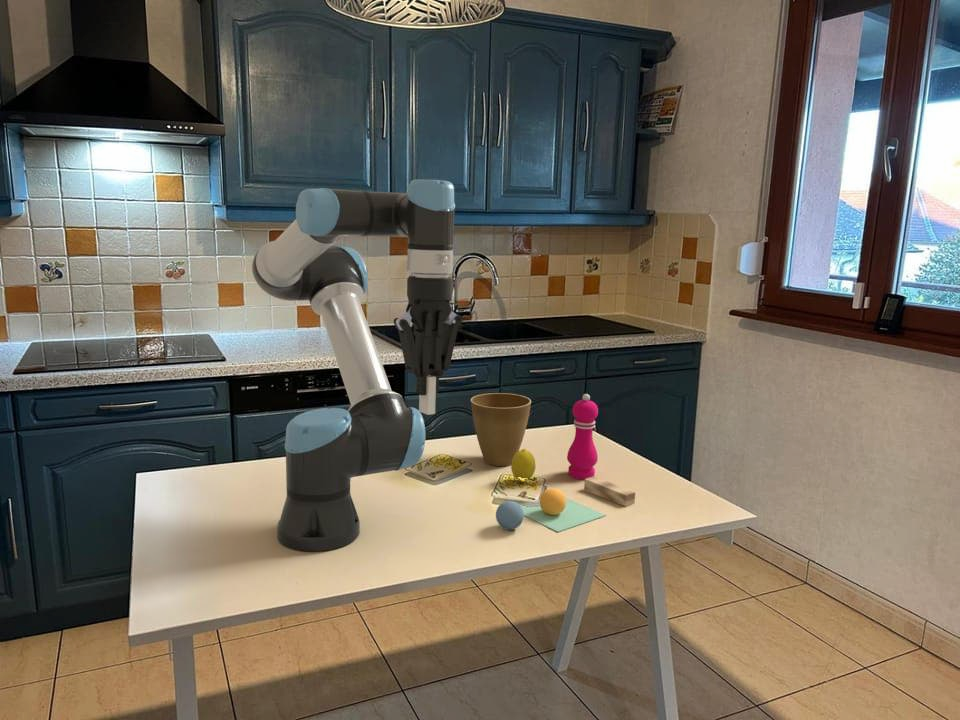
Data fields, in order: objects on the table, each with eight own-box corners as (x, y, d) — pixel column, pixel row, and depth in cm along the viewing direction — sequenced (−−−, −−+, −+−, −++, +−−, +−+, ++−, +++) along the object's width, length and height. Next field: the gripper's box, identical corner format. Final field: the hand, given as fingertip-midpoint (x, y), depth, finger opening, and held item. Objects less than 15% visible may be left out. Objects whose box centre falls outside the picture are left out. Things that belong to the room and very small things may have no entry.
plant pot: (507, 449, 192) (510, 390, 188) (539, 466, 179) (543, 403, 176) (458, 456, 184) (459, 395, 181) (488, 475, 172) (490, 410, 168)
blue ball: (512, 492, 145) (516, 515, 146) (488, 503, 142) (493, 526, 144) (526, 503, 140) (531, 527, 142) (502, 514, 138) (507, 538, 140)
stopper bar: (634, 503, 157) (635, 492, 157) (625, 506, 156) (626, 495, 155) (593, 486, 167) (593, 476, 166) (584, 489, 165) (584, 478, 164)
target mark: (557, 532, 141) (558, 531, 141) (510, 509, 152) (510, 508, 152) (605, 516, 150) (605, 515, 150) (557, 494, 161) (557, 494, 161)
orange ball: (546, 479, 151) (559, 491, 154) (529, 499, 150) (542, 512, 153) (563, 490, 146) (575, 503, 150) (545, 512, 145) (559, 524, 149)
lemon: (532, 487, 165) (534, 453, 163) (508, 484, 166) (510, 451, 164) (535, 479, 170) (537, 446, 169) (512, 476, 171) (514, 444, 170)
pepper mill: (570, 468, 179) (575, 389, 175) (599, 472, 176) (604, 392, 172) (562, 477, 172) (567, 395, 168) (592, 482, 169) (598, 399, 166)
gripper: (409, 278, 114) (407, 423, 118) (474, 276, 122) (470, 412, 126) (384, 274, 119) (383, 412, 124) (447, 272, 128) (444, 402, 132)
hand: (427, 412), depth 125 cm, fingers closed
